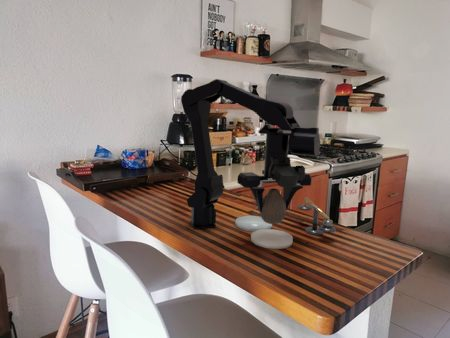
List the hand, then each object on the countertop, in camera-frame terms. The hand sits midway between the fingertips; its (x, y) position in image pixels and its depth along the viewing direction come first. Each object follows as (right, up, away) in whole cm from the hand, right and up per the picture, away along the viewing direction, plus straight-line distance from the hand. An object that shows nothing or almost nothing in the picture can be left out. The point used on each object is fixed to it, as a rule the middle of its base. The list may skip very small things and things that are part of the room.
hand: (272, 211), depth 89 cm
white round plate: (-4, -6, +13) cm, 15 cm away
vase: (0, -3, +1) cm, 3 cm away
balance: (+13, -7, +9) cm, 17 cm away
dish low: (0, -8, +1) cm, 8 cm away
